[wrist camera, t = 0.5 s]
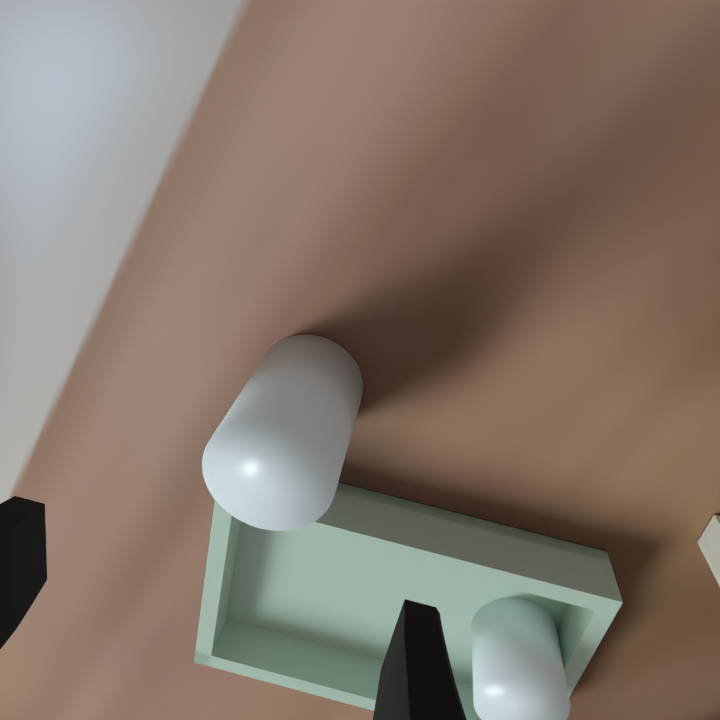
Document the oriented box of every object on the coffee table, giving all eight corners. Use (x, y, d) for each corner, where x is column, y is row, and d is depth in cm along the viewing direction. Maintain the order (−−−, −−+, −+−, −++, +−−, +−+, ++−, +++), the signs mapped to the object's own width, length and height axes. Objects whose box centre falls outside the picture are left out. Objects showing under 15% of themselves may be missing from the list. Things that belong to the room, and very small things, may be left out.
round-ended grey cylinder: (351, 439, 21) (322, 545, 16) (252, 414, 21) (196, 511, 16) (373, 349, 19) (348, 438, 15) (266, 322, 19) (208, 402, 15)
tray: (529, 699, 25) (540, 792, 21) (214, 614, 25) (179, 693, 22) (607, 551, 21) (633, 637, 18) (237, 456, 21) (200, 523, 18)
